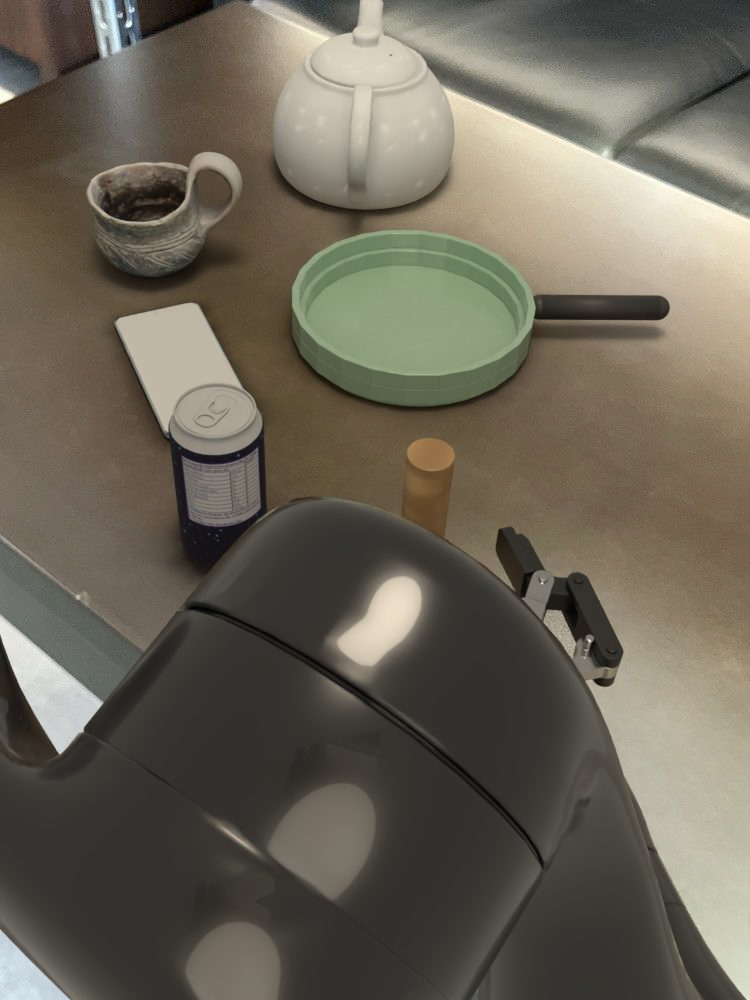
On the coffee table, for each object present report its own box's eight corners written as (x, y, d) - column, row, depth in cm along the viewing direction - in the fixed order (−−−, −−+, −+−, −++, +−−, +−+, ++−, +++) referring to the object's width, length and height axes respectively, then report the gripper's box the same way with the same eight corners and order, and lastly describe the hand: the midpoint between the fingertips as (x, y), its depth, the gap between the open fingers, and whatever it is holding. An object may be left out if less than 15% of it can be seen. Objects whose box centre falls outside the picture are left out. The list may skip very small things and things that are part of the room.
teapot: (225, 162, 110) (217, 21, 101) (367, 106, 119) (373, -28, 110) (354, 248, 101) (359, 102, 91) (497, 180, 110) (516, 41, 100)
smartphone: (166, 437, 82) (112, 318, 92) (166, 442, 83) (113, 323, 92) (258, 414, 84) (196, 299, 94) (258, 419, 85) (196, 305, 94)
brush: (369, 663, 70) (381, 491, 59) (365, 592, 74) (376, 418, 63) (460, 661, 70) (488, 490, 60) (452, 591, 74) (476, 418, 64)
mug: (94, 234, 101) (78, 128, 94) (236, 223, 103) (231, 119, 96) (100, 299, 94) (83, 191, 87) (251, 285, 97) (247, 179, 90)
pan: (291, 410, 86) (291, 374, 83) (292, 263, 99) (292, 228, 97) (545, 411, 87) (552, 375, 85) (512, 265, 100) (517, 230, 98)
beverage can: (284, 535, 77) (281, 399, 69) (235, 590, 74) (226, 455, 65) (215, 502, 79) (204, 366, 70) (164, 554, 76) (146, 418, 67)
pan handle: (527, 324, 92) (530, 304, 91) (523, 309, 93) (527, 289, 92) (669, 325, 93) (674, 305, 91) (663, 310, 94) (669, 290, 93)
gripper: (700, 720, 53) (557, 481, 64) (409, 797, 50) (310, 530, 60) (663, 802, 59) (537, 569, 69) (399, 877, 55) (309, 619, 66)
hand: (431, 551), depth 65 cm, fingers open, 8 cm apart
